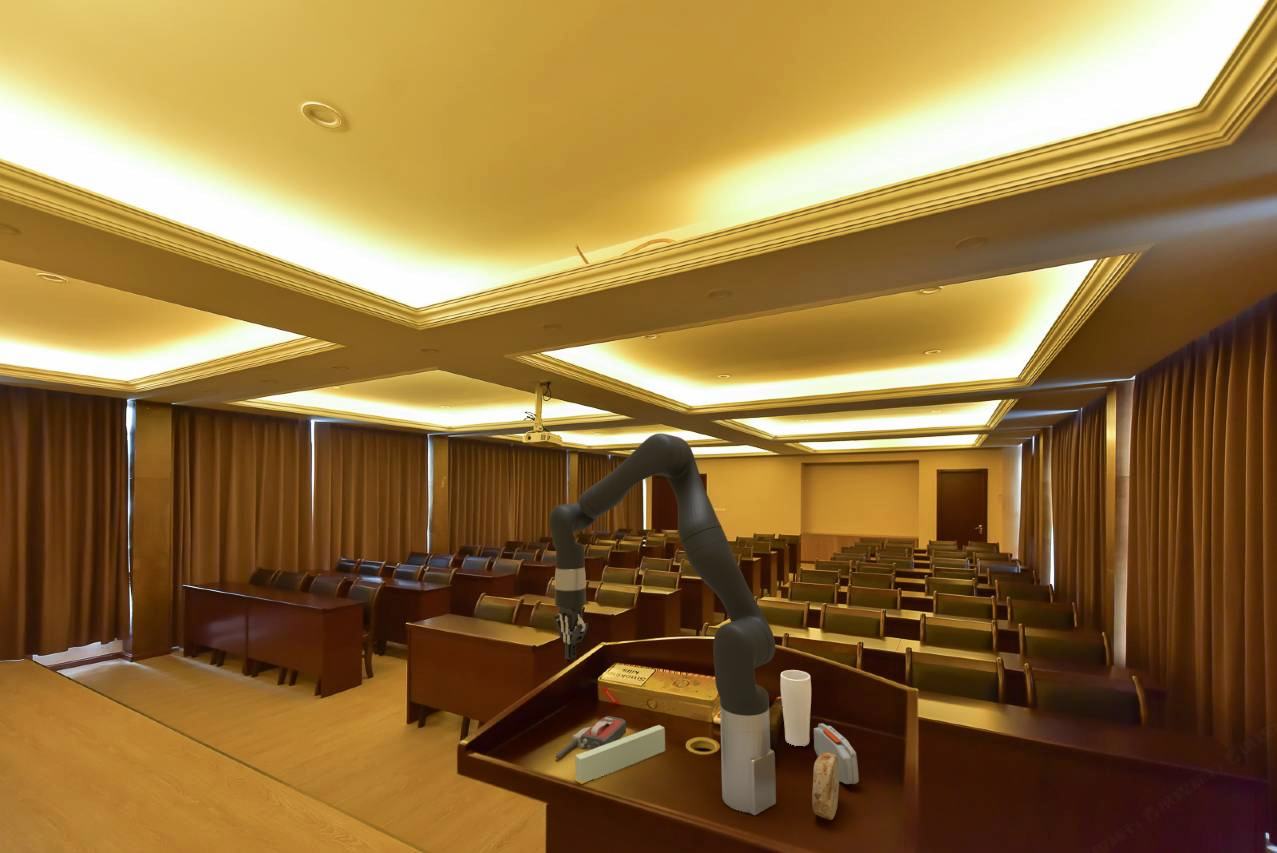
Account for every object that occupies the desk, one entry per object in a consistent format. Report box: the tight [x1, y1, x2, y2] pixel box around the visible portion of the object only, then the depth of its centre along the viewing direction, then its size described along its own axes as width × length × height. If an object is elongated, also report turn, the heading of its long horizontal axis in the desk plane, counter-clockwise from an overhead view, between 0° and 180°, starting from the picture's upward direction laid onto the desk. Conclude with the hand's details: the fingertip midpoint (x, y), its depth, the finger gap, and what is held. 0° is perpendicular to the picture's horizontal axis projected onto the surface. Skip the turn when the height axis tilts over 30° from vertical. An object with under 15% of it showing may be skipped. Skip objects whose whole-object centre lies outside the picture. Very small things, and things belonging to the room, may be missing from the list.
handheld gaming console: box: [813, 722, 860, 785], centre depth 119 cm, size 14×3×8 cm, turn 11°
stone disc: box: [811, 752, 840, 821], centre depth 106 cm, size 10×4×10 cm, turn 150°
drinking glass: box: [780, 669, 812, 747], centre depth 133 cm, size 7×7×15 cm
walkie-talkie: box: [555, 715, 627, 759], centre depth 133 cm, size 9×4×20 cm
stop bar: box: [574, 724, 666, 782], centre depth 123 cm, size 2×22×5 cm, turn 128°
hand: (570, 658), depth 141 cm, fingers closed
